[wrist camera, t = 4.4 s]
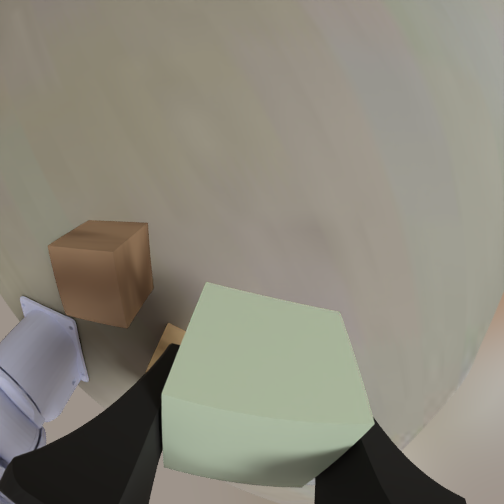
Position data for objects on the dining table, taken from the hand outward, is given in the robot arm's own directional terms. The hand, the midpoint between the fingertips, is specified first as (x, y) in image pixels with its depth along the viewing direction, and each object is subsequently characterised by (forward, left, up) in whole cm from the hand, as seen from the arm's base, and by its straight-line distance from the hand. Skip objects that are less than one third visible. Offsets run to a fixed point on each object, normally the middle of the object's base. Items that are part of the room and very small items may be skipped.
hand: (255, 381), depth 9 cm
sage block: (0, 0, -2) cm, 2 cm away
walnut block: (-2, +10, -10) cm, 14 cm away
